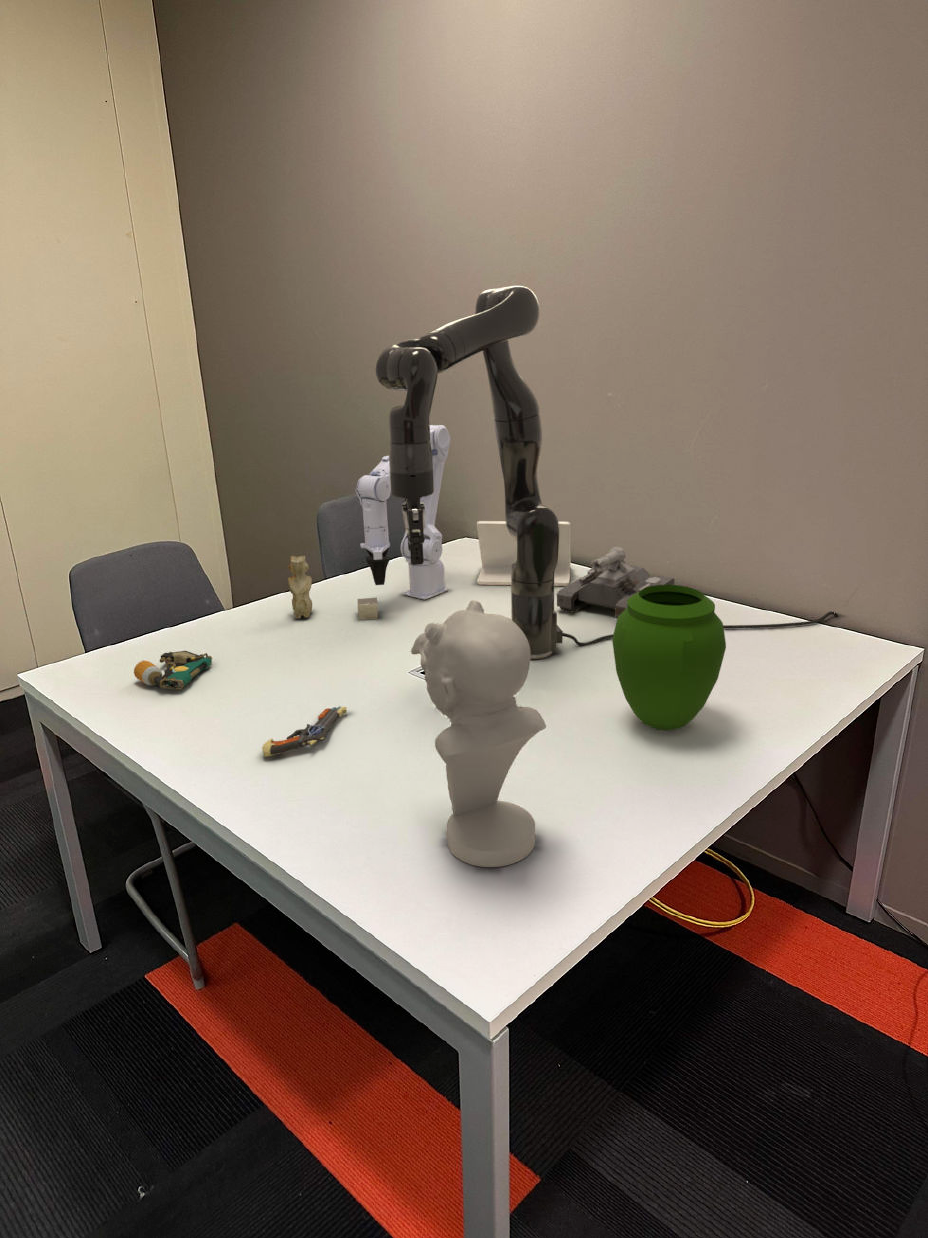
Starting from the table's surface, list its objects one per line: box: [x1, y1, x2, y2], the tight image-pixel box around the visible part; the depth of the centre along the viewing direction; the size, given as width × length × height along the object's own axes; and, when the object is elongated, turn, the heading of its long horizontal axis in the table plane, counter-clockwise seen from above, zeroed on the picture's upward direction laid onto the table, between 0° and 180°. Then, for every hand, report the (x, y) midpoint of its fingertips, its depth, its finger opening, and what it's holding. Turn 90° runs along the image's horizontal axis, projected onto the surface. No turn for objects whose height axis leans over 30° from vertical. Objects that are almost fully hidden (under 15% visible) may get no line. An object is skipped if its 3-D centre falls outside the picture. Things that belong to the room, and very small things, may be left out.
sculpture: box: [287, 554, 313, 619], centre depth 211 cm, size 6×7×15 cm
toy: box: [556, 546, 676, 620], centre depth 212 cm, size 25×20×15 cm
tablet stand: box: [476, 520, 572, 587], centre depth 236 cm, size 18×25×17 cm
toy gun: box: [261, 705, 348, 758], centre depth 154 cm, size 3×19×10 cm
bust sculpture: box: [410, 599, 547, 868], centre depth 121 cm, size 16×24×35 cm
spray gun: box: [133, 650, 213, 690], centre depth 180 cm, size 4×17×15 cm
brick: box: [357, 597, 379, 621], centre depth 211 cm, size 4×5×4 cm
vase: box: [611, 584, 727, 731], centre depth 151 cm, size 20×20×24 cm
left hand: (379, 579), depth 209 cm, fingers open, 7 cm apart
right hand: (415, 557), depth 154 cm, fingers open, 8 cm apart
